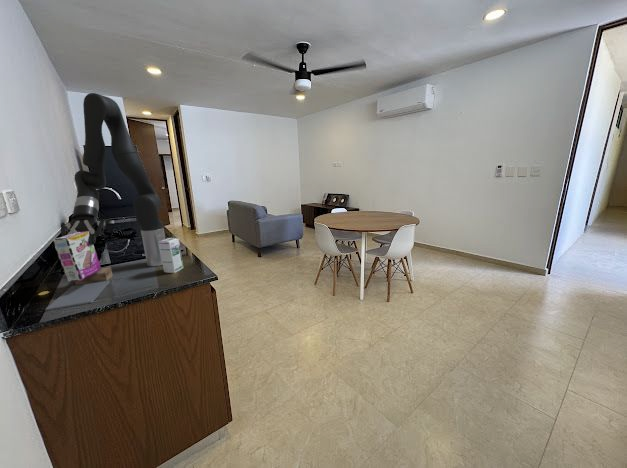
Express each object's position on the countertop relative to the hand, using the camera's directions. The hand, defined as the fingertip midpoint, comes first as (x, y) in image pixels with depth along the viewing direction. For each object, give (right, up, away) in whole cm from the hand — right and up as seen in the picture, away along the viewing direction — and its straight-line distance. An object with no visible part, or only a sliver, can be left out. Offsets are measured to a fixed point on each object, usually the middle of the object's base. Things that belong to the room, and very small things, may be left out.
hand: (81, 244), depth 96 cm
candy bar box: (+1, -12, +1) cm, 12 cm away
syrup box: (+26, -12, +17) cm, 34 cm away
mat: (+4, -18, -4) cm, 19 cm away
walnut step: (-1, -15, +8) cm, 17 cm away
